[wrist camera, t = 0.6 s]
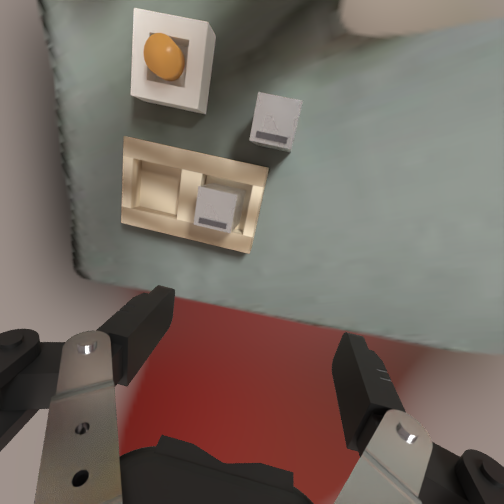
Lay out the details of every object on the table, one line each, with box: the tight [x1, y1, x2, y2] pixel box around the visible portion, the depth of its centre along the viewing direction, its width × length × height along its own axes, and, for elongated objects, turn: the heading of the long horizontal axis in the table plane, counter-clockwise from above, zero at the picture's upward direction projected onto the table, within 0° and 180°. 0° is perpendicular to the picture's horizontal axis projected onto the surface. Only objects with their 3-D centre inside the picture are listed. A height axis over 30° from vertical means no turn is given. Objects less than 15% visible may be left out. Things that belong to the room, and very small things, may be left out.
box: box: [131, 8, 216, 114], centre depth 29 cm, size 8×8×3 cm
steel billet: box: [249, 92, 303, 153], centre depth 28 cm, size 4×4×6 cm
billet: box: [194, 183, 246, 233], centre depth 31 cm, size 4×4×6 cm
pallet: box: [121, 136, 269, 254], centre depth 34 cm, size 11×18×2 cm, turn 78°
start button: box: [144, 33, 185, 81], centre depth 27 cm, size 4×4×2 cm
